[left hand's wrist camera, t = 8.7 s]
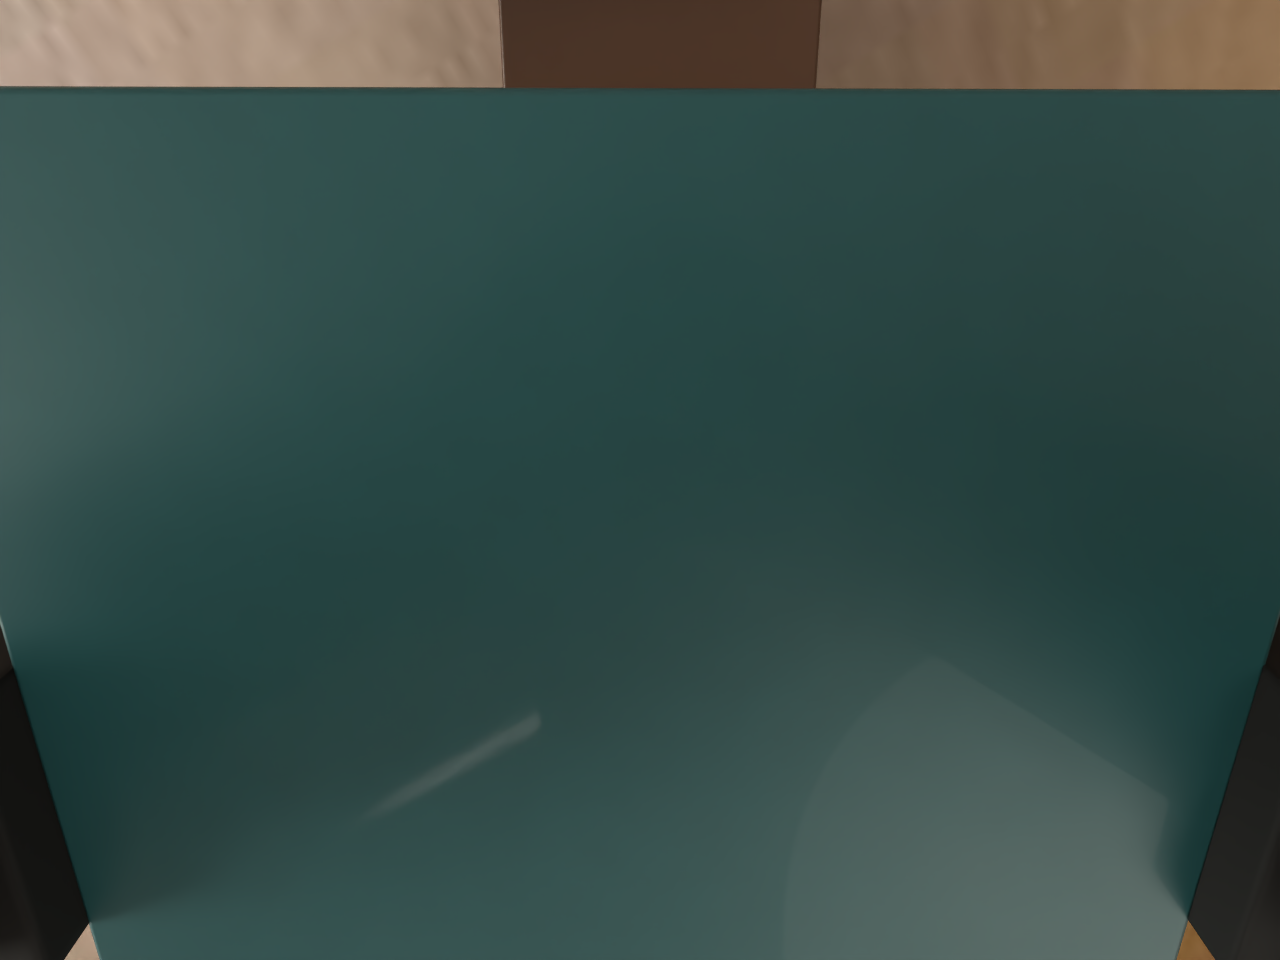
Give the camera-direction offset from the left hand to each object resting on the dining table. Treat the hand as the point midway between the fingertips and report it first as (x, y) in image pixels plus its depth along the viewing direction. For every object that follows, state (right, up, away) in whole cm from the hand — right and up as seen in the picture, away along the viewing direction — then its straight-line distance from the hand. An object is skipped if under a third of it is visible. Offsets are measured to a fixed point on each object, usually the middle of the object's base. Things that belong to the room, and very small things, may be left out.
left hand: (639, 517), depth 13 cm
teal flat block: (0, 0, -1) cm, 1 cm away
